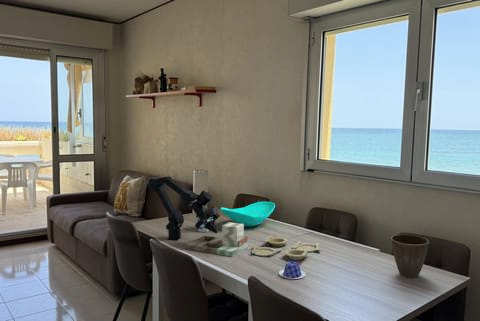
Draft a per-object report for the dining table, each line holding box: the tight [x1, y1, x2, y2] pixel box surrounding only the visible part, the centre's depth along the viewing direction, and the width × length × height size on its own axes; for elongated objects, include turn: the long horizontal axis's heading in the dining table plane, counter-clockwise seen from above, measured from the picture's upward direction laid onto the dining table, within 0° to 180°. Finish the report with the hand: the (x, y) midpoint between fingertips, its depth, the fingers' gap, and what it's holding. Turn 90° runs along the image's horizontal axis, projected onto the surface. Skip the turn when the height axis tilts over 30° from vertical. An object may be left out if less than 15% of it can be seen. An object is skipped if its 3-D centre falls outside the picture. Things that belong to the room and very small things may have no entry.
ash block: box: [221, 221, 245, 246], centre depth 204 cm, size 9×8×10 cm
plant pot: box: [390, 234, 430, 279], centre depth 165 cm, size 15×15×16 cm
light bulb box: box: [196, 217, 210, 233], centre depth 241 cm, size 11×7×11 cm, turn 168°
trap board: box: [185, 234, 249, 257], centre depth 205 cm, size 28×19×6 cm
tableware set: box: [251, 234, 322, 261], centre depth 199 cm, size 35×29×4 cm
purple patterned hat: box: [278, 261, 307, 280], centre depth 167 cm, size 12×12×5 cm
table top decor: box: [220, 201, 276, 228], centre depth 251 cm, size 40×28×13 cm
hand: (217, 232), depth 209 cm, fingers closed
